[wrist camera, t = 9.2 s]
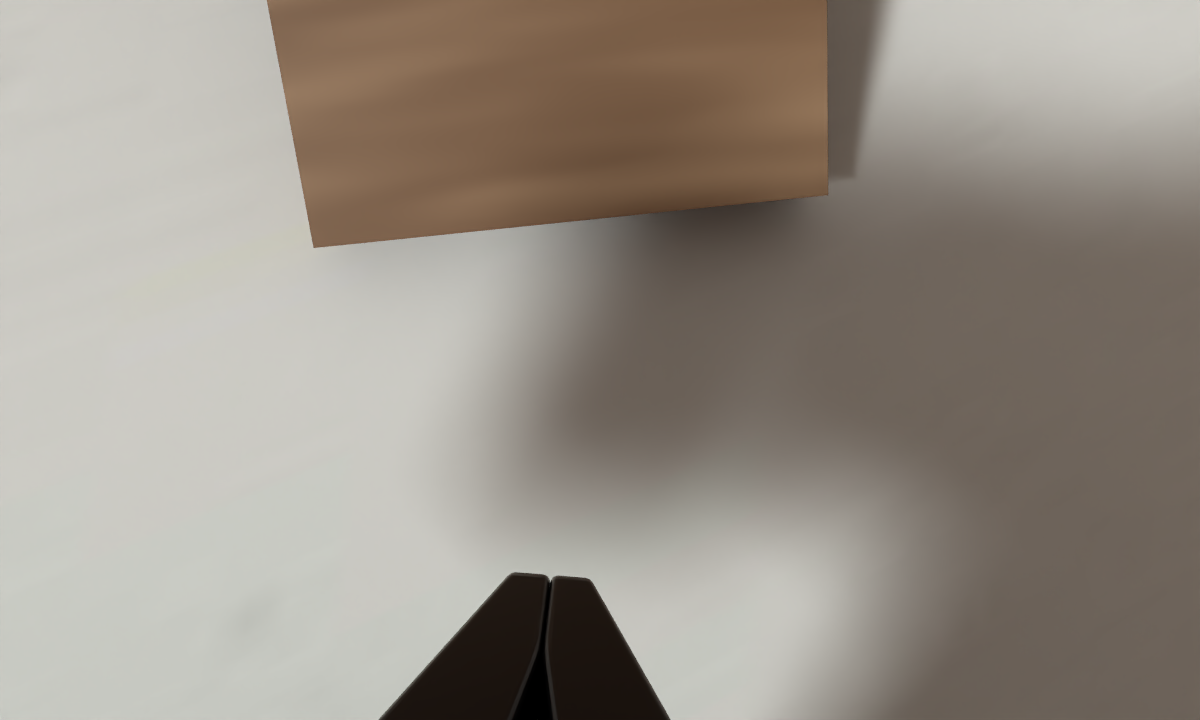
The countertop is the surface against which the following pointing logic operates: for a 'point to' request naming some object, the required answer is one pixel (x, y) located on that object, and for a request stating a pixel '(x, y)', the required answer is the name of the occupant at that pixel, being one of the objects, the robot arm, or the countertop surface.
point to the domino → (547, 109)
